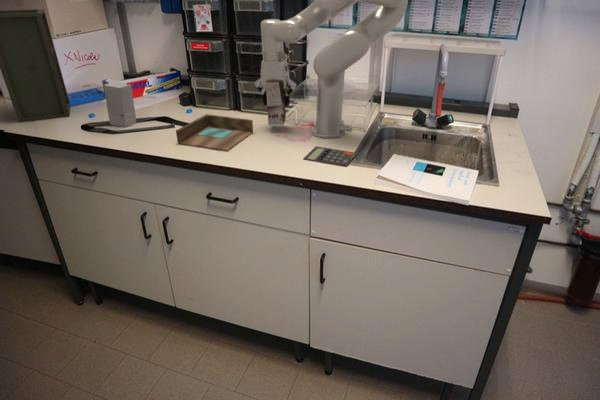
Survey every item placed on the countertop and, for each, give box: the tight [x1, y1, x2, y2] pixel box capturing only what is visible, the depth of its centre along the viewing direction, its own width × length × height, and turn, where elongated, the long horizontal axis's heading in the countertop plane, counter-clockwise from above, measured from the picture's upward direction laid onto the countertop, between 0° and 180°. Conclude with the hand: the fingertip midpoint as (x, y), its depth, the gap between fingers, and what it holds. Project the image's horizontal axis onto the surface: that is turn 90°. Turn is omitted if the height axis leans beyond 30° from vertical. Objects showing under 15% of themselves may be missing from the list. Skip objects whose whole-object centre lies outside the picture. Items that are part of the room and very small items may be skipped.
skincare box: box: [103, 81, 137, 128], centre depth 162 cm, size 8×7×16 cm
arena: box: [175, 113, 254, 152], centre depth 150 cm, size 20×20×5 cm
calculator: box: [303, 145, 356, 168], centre depth 137 cm, size 12×1×15 cm
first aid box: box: [0, 8, 71, 123], centre depth 167 cm, size 18×18×40 cm
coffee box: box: [266, 81, 287, 126], centre depth 155 cm, size 9×6×16 cm
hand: (276, 104), depth 156 cm, fingers closed on coffee box, 7 cm apart
